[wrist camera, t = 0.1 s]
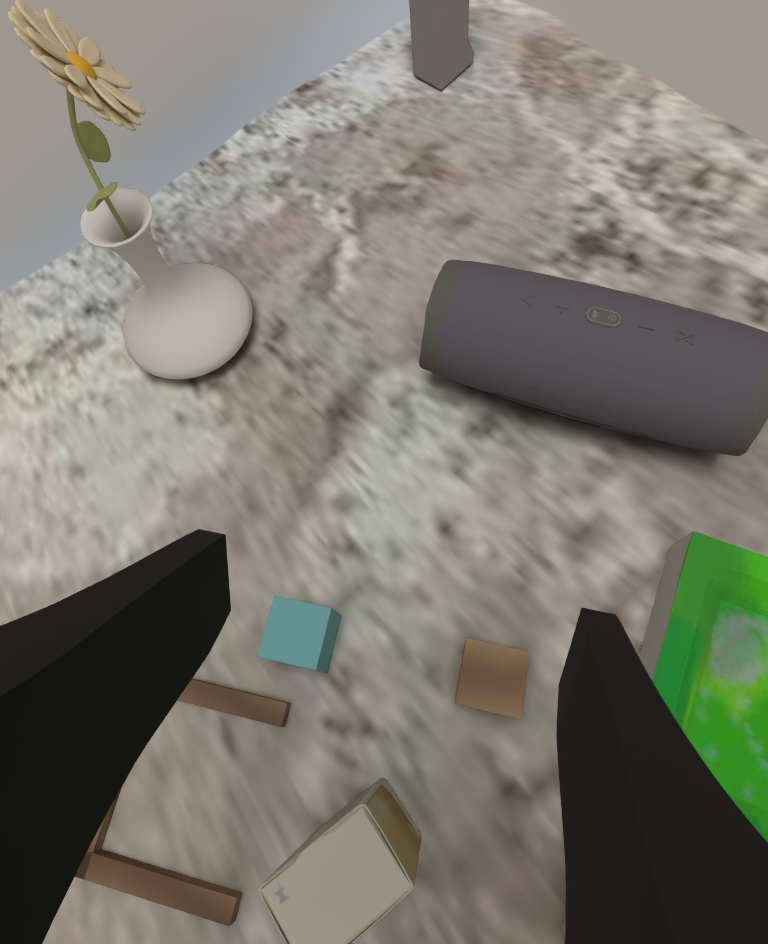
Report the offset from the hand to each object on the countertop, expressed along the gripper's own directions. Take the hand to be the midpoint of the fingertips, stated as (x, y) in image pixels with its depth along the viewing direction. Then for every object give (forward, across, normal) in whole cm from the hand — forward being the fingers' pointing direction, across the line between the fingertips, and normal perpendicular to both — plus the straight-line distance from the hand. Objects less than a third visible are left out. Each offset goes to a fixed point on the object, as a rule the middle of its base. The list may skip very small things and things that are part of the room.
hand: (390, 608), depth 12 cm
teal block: (+22, +9, +24) cm, 33 cm away
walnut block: (+22, -4, +24) cm, 32 cm away
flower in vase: (+39, +26, +8) cm, 48 cm away
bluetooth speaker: (+39, -7, +9) cm, 40 cm away
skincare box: (+13, +2, +31) cm, 34 cm away
